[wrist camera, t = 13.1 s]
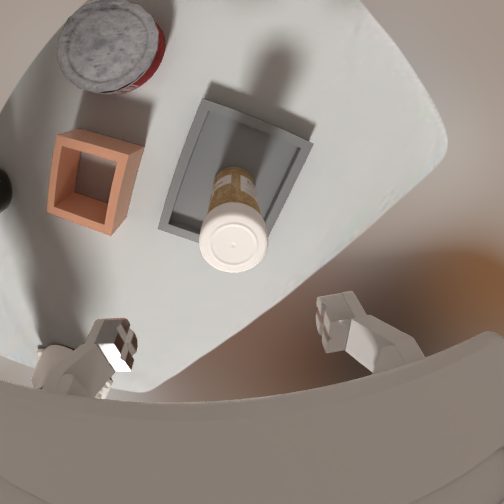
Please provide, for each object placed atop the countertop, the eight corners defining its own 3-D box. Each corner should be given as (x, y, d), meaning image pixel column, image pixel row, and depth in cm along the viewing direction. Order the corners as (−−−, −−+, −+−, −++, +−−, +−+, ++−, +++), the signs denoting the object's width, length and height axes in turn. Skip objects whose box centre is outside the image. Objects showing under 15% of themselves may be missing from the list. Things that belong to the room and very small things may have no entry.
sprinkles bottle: (210, 168, 28) (192, 216, 17) (253, 164, 28) (267, 208, 17) (215, 208, 30) (204, 278, 19) (256, 204, 31) (270, 272, 19)
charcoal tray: (254, 253, 35) (255, 261, 33) (161, 221, 32) (157, 228, 30) (308, 141, 28) (313, 143, 26) (204, 99, 25) (202, 98, 23)
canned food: (147, 24, 23) (165, -22, 15) (167, 86, 27) (190, 51, 18) (60, 52, 19) (49, 10, 11) (76, 120, 23) (61, 93, 15)
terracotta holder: (126, 217, 31) (111, 235, 27) (67, 197, 29) (46, 212, 25) (144, 146, 27) (128, 155, 23) (79, 128, 25) (56, 134, 21)
